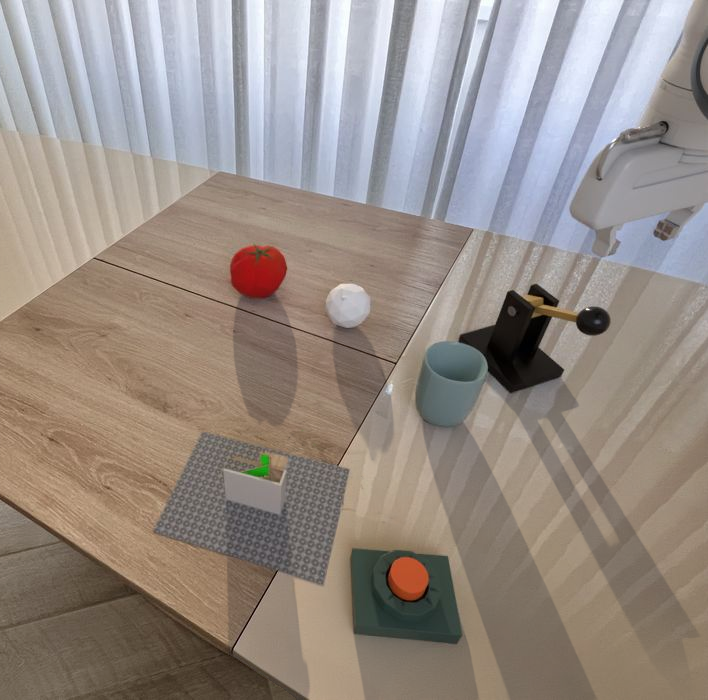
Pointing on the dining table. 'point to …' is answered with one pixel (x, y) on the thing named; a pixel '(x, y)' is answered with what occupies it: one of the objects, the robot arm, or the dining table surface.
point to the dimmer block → (398, 614)
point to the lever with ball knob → (574, 316)
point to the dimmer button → (408, 578)
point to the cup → (449, 383)
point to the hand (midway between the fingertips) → (633, 245)
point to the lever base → (517, 343)
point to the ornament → (347, 305)
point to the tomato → (258, 271)
